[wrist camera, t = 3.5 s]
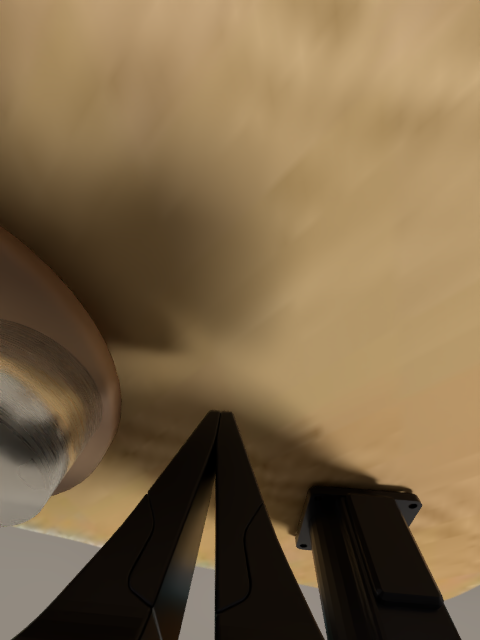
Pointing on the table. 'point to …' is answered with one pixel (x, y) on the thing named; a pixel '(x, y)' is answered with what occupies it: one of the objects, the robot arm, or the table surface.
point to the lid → (40, 418)
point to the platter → (60, 338)
